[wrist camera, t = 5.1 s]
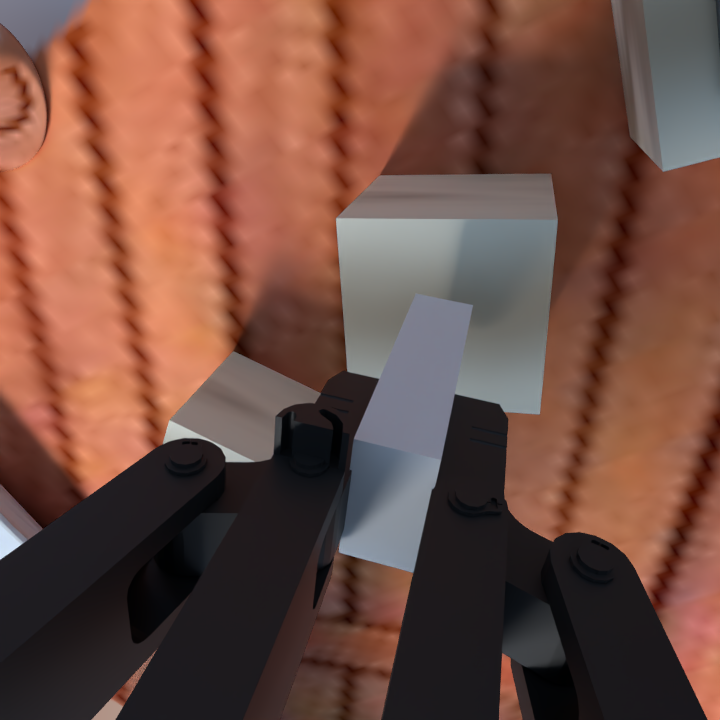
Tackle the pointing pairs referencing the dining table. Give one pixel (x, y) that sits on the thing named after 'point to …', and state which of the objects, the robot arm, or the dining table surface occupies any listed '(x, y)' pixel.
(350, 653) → the dining table surface
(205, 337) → the dining table surface
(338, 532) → the robot arm
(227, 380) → the marked block
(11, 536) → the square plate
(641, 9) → the marked block
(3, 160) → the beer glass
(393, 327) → the plain block
